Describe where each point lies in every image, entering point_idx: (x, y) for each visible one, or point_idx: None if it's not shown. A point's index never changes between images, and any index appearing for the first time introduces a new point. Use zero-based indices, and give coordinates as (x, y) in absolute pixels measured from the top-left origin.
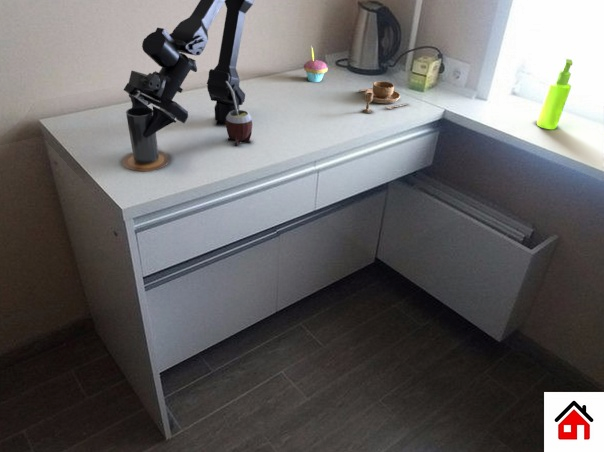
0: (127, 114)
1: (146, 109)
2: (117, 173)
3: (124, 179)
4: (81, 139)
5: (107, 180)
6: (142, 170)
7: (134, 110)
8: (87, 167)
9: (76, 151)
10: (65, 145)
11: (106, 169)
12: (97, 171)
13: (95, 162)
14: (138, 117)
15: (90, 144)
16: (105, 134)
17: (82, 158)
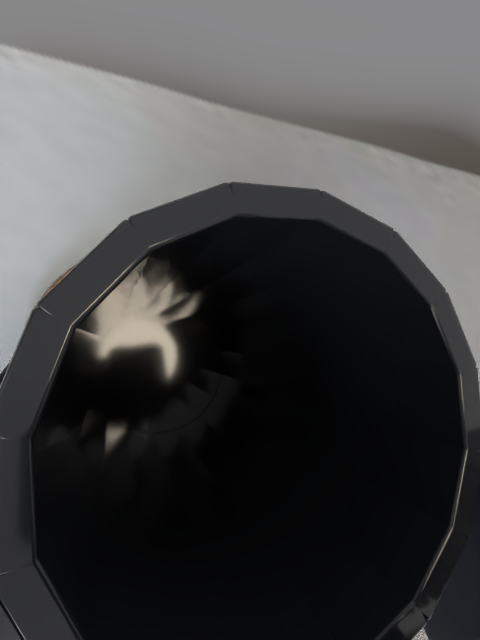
0: (289, 187)
1: (364, 605)
2: (116, 179)
3: (23, 166)
4: (474, 240)
5: (73, 100)
6: (50, 289)
7: (427, 413)
8: (256, 119)
9: (402, 172)
10: (459, 171)
11: (189, 166)
12: (195, 125)
13: (280, 170)
14: (45, 300)
15: (427, 244)
16: (472, 333)
17: (340, 153)
